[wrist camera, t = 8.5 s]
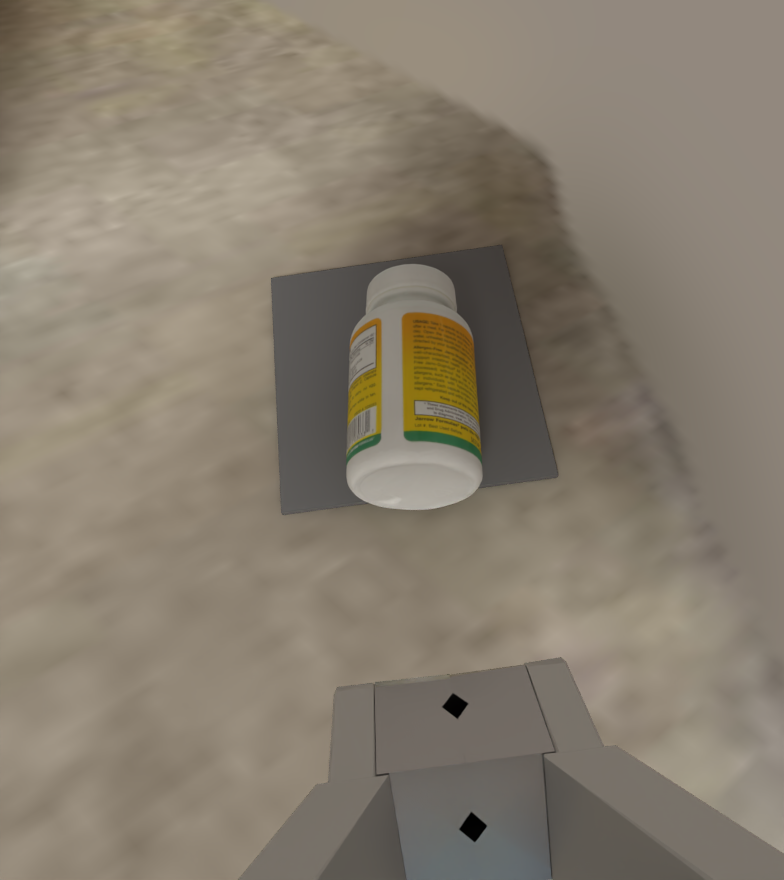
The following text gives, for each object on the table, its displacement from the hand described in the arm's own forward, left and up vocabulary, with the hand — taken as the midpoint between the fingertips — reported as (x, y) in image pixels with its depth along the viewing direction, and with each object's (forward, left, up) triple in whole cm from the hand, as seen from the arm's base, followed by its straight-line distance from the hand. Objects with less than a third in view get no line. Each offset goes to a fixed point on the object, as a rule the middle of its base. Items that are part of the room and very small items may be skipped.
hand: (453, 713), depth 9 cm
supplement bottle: (0, +9, -15) cm, 18 cm away
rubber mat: (0, +17, -18) cm, 25 cm away
